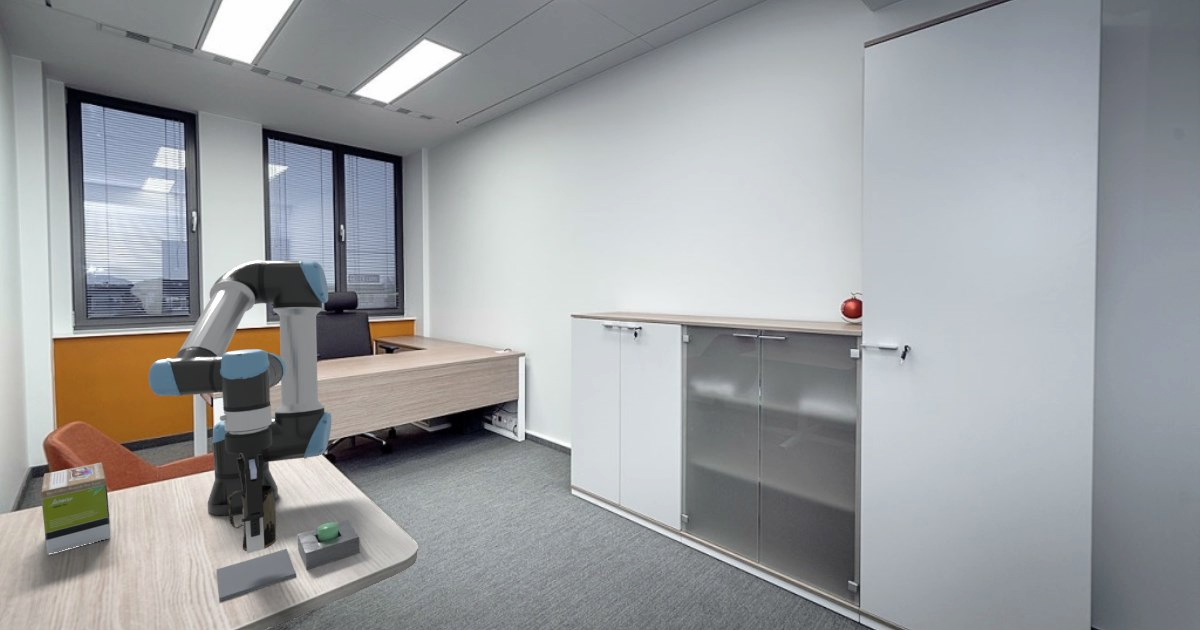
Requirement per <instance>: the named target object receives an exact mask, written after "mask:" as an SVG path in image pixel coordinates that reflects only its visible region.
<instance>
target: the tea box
mask: <svg viewBox="0 0 1200 630" xmlns="http://www.w3.org/2000/svg"><path fill="white" fill-rule="evenodd" d="M104 470H105V469H104V466H103V463H102V462H97V463H93V464H86V465H82V466H78V467H71V468H67V469H63V470H58V471H53V472H46V473H44V475H43V478H42V486H41V495H40V496H41V505H42V508H41V509H42V515H43V526H44V527H43V528H44V537H45V538H44V539H45V540H44V541H45V546H46V548H45V549H46V555H47V554H49V553H54V552H59V551H62V550H65V549H68V548H73V547H76V546H81V545H84V544H89V543H93V542H97V543H99V542H98V541H100V542H102V541H101V540H104V541H106V540H105V539H107V540H109V539H111V524H110V523H111V522H110V509H109V507H110V506H109V495H108V487H107V482H106V481H107V480H106V474H105V471H104ZM93 544H94V543H93Z"/></svg>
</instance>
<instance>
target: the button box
mask: <svg viewBox="0 0 1200 630" xmlns="http://www.w3.org/2000/svg"><path fill="white" fill-rule="evenodd" d="M336 523H337V524H338V537H337V538H334V539H331V540H327V541H324V542H321V543H318V528H315V529H312V530H309V531H304V532H302V533H297V550H298V552H299V553H298V554H299V555H300V557H301V560H302V563H303V565H304V567H305V569H306V571H308V570H312V569H314V568H317V567H321V566H323V565H326V564H329V563H332V562H336V561H339V560H341V559H345V558H348V557H351V556H353V555H357V554H360V553H361V546H360V545H361V544H360V543H361V542H360V535H359V534H358V532H357V531H356V529H355V528H354V527H353V525H352V524H351V522H350V521H349V520H344V521H340V522H336Z"/></svg>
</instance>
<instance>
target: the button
mask: <svg viewBox="0 0 1200 630" xmlns="http://www.w3.org/2000/svg"><path fill="white" fill-rule="evenodd" d="M337 523H338V522H333V521H332V522H326V523H322V524H321V525H319V526H318V527H317V529H318V543H321V542H324V541H327V540H331V539H334V538H337V537H338V524H337Z"/></svg>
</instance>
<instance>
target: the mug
mask: <svg viewBox="0 0 1200 630" xmlns="http://www.w3.org/2000/svg"><path fill="white" fill-rule="evenodd" d="M240 492H241V494H242V501H243V513H244V518H246V502H245V490H244V491H235V492H232V493H231V494H229V495H228V497H227V506H228V514H229V515H228V520H229V523H230V525H231V527H233V528H235V529H239V528H242V527H243V537H242V550H243V551H245V552H247V541H246V522H244V523H243V524H239V525H235V522H234V516H233V515H234V514H233V515H232V505H231V499H232V497H233V496H234V495H235V494H237V493H240ZM262 498H263V512H264V517H263V531H264V549H266V548H269V547H270V546H273V545H274V544H275V543H276V542H277V538H276V537H277V516H276V515H277V514H276V513H277V512H276V505H275V500H274V495H273V491H272V487H271V486H270V485H262ZM243 513H242V514H243Z"/></svg>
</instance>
